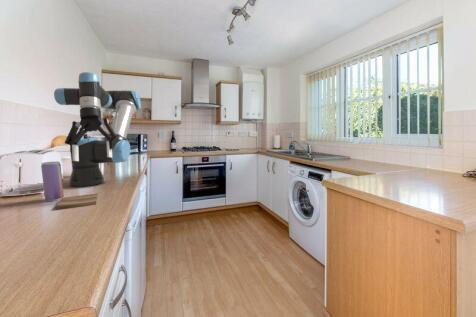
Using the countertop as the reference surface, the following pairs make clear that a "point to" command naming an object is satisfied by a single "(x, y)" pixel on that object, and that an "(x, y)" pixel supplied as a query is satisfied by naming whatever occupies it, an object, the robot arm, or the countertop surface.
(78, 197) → the walnut trivet
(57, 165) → the beverage can
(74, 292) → the countertop surface
